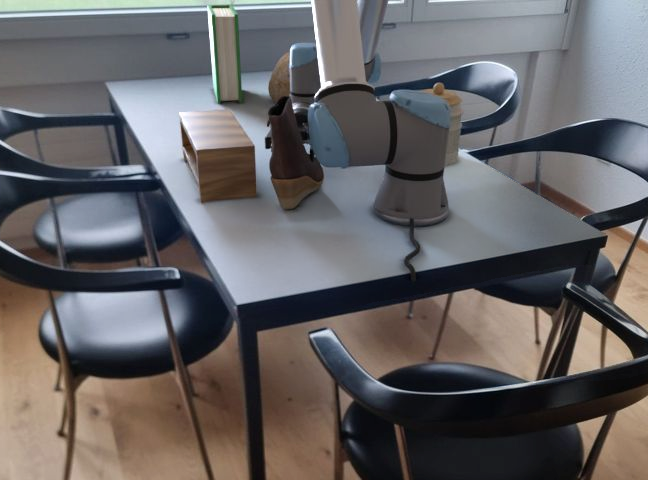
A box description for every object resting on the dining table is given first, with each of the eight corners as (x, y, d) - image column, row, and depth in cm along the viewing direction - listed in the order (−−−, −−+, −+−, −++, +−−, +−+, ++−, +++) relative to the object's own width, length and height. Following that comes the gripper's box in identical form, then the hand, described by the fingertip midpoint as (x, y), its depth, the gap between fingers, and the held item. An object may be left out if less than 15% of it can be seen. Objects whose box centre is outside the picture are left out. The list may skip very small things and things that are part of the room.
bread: (357, 93, 221) (359, 41, 212) (352, 113, 202) (354, 58, 193) (275, 89, 222) (274, 38, 214) (263, 109, 204) (261, 54, 195)
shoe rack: (256, 196, 148) (254, 145, 142) (201, 202, 145) (196, 150, 139) (232, 155, 170) (229, 109, 164) (183, 159, 167) (178, 112, 161)
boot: (331, 171, 159) (324, 79, 147) (308, 213, 140) (298, 111, 129) (294, 171, 161) (285, 80, 149) (267, 213, 142) (254, 112, 130)
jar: (421, 170, 164) (429, 91, 153) (395, 153, 173) (401, 78, 163) (467, 163, 168) (478, 87, 158) (439, 147, 178) (448, 74, 167)
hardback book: (242, 102, 209) (237, 14, 195) (217, 103, 208) (211, 14, 194) (236, 88, 223) (232, 4, 209) (213, 89, 222) (207, 5, 208)
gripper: (342, 141, 167) (339, 174, 148) (261, 138, 167) (248, 171, 149) (343, 108, 162) (340, 138, 144) (260, 106, 163) (246, 135, 144)
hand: (293, 155), depth 146 cm, fingers open, 7 cm apart
